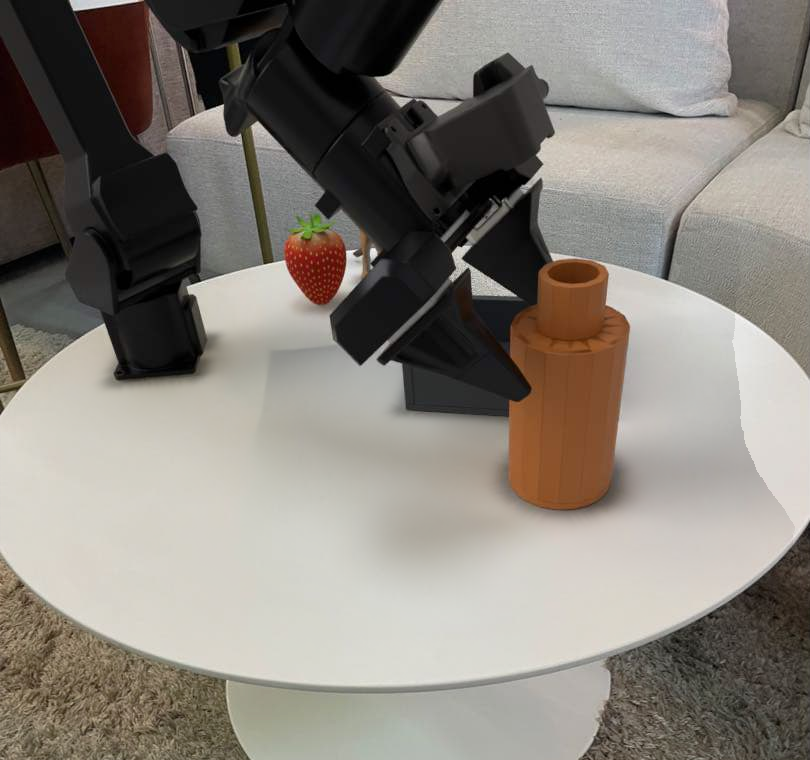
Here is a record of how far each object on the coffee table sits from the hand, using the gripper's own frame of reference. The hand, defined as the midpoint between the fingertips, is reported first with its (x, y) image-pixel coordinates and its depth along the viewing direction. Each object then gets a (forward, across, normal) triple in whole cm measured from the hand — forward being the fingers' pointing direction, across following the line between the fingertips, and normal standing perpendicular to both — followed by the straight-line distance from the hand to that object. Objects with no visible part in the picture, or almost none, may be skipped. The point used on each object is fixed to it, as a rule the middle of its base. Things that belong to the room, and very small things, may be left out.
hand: (548, 354), depth 46 cm
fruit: (-12, +19, +24) cm, 33 cm away
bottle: (+7, 0, +5) cm, 9 cm away
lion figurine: (-8, +23, +20) cm, 32 cm away
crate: (+1, +11, +11) cm, 15 cm away
